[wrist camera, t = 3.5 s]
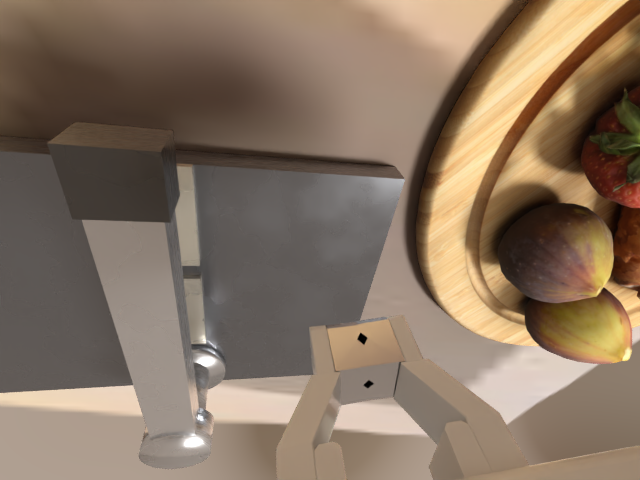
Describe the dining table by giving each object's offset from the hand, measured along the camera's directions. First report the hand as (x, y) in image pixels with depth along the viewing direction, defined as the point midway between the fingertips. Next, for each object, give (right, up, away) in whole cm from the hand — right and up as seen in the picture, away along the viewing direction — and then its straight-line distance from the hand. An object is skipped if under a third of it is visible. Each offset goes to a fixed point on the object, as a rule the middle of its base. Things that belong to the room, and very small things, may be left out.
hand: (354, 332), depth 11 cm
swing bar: (-9, -2, +6) cm, 11 cm away
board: (-11, 0, +11) cm, 15 cm away
